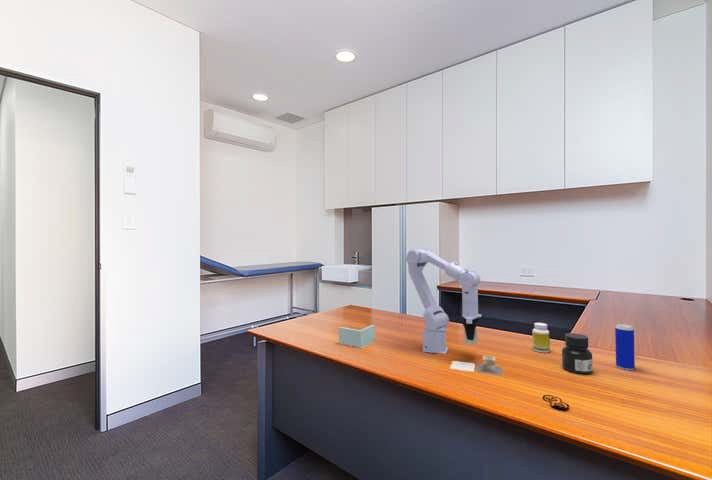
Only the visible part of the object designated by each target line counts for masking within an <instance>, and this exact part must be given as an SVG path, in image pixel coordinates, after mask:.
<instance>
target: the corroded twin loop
mask: <svg viewBox="0 0 712 480" xmlns="http://www.w3.org/2000/svg"><path fill="white" fill-rule="evenodd" d="M550 397H551V398H550ZM542 399H543V400H544V401H545V402H549V404H550V407H551V408H554V409H555V410H559V411H562V412H563V411H567V410H568V409H569V408H570V405H569V404H568V403H566V402H564V401H562V398H560V397H558V396H554V395H550V394H543V396H542ZM558 399H559V400H560V401H559V402H558ZM552 402H555V403H553V405H552ZM565 405H566V407H565Z"/></svg>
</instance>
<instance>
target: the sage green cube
mask: <svg viewBox="0 0 712 480" xmlns="http://www.w3.org/2000/svg"><path fill="white" fill-rule="evenodd" d="M463 337H464V344H471V345H473V344H474V345H478V329H476V328H475V333H474V339H473V340H467V336H466V331H465V330H464V336H463Z"/></svg>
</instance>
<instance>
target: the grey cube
mask: <svg viewBox="0 0 712 480" xmlns="http://www.w3.org/2000/svg"><path fill="white" fill-rule="evenodd" d="M482 364H483V371H489V372H496V370H495V366H496V356H491V355H490V356H489V355H482Z"/></svg>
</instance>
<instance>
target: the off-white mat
mask: <svg viewBox="0 0 712 480" xmlns="http://www.w3.org/2000/svg"><path fill="white" fill-rule="evenodd" d="M475 365H476V364H475V363H473V362H465V361H458V360H452V361H451V365H450V366H449V368H450V369H451V370H458V371H464V372H473V373H474V372H475Z"/></svg>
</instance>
